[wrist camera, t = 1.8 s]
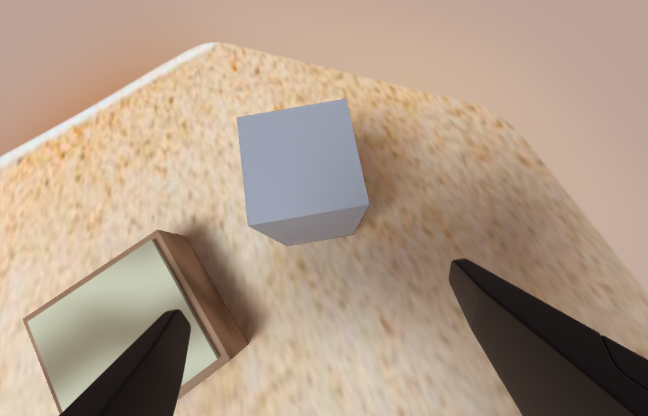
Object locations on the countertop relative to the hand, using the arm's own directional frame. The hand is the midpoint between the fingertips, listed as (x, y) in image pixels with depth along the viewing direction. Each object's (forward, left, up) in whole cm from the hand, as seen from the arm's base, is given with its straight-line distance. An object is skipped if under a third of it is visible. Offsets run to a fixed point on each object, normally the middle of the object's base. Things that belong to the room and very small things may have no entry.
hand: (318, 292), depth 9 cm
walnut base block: (+6, +12, -12) cm, 18 cm away
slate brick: (+5, -3, -12) cm, 13 cm away
